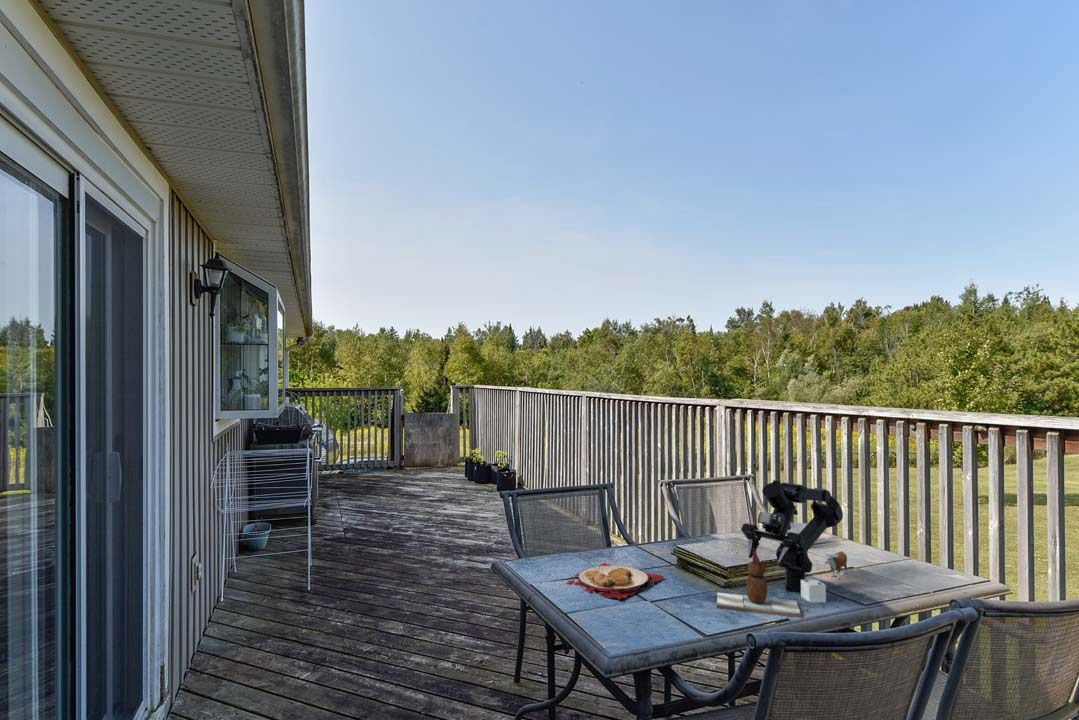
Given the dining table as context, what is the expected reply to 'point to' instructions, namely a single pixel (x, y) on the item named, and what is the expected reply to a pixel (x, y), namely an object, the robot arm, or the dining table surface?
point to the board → (758, 605)
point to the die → (813, 590)
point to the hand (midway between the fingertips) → (763, 561)
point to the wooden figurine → (756, 581)
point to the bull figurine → (837, 563)
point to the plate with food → (614, 580)
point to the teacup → (796, 527)
